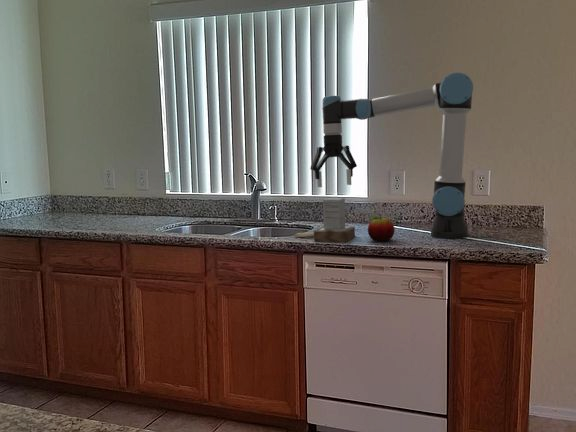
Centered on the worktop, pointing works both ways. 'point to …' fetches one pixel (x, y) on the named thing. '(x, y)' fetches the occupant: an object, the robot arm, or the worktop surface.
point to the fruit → (380, 229)
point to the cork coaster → (305, 234)
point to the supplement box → (334, 213)
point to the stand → (334, 234)
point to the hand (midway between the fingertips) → (334, 185)
